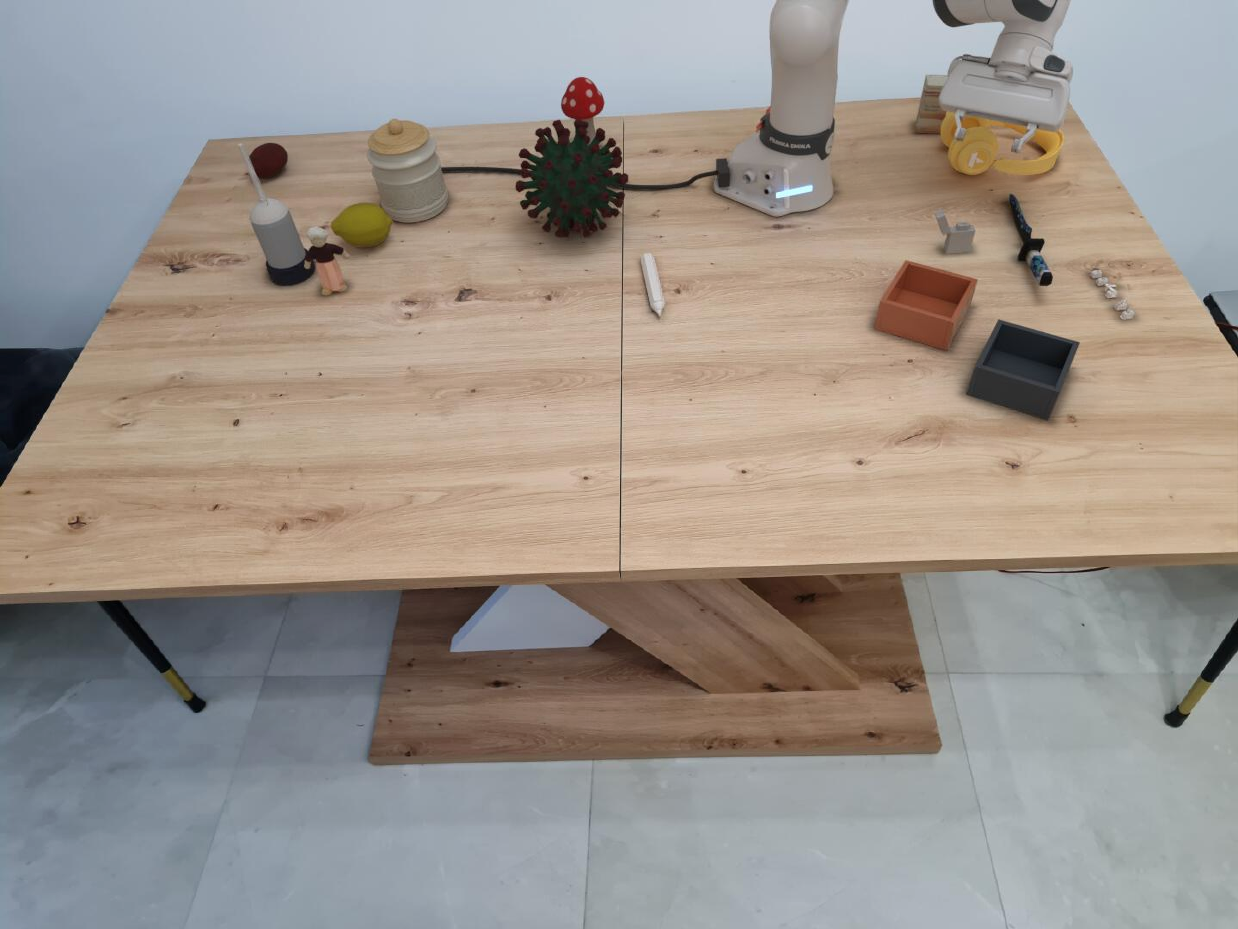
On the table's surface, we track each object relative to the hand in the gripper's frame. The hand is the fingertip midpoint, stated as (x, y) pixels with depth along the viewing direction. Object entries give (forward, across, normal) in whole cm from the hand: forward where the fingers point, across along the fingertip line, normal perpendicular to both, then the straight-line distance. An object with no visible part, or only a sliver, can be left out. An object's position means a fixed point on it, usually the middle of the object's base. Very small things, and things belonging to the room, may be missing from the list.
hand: (986, 145), depth 151 cm
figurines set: (+19, +27, +1) cm, 33 cm away
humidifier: (+57, -102, -38) cm, 123 cm away
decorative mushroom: (+16, -75, +3) cm, 77 cm away
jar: (+38, -95, -19) cm, 104 cm away
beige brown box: (-9, -16, +29) cm, 34 cm away
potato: (+41, -131, -22) cm, 139 cm away
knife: (+14, +11, +6) cm, 19 cm away
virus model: (+33, -62, -14) cm, 72 cm away
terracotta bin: (+31, +2, -12) cm, 33 cm away
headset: (-5, -1, +24) cm, 25 cm away
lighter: (+18, 0, +2) cm, 18 cm away
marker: (+40, -40, -21) cm, 61 cm away
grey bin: (+37, +19, -18) cm, 45 cm away
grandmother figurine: (+57, -91, -38) cm, 114 cm away
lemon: (+48, -95, -29) cm, 110 cm away
